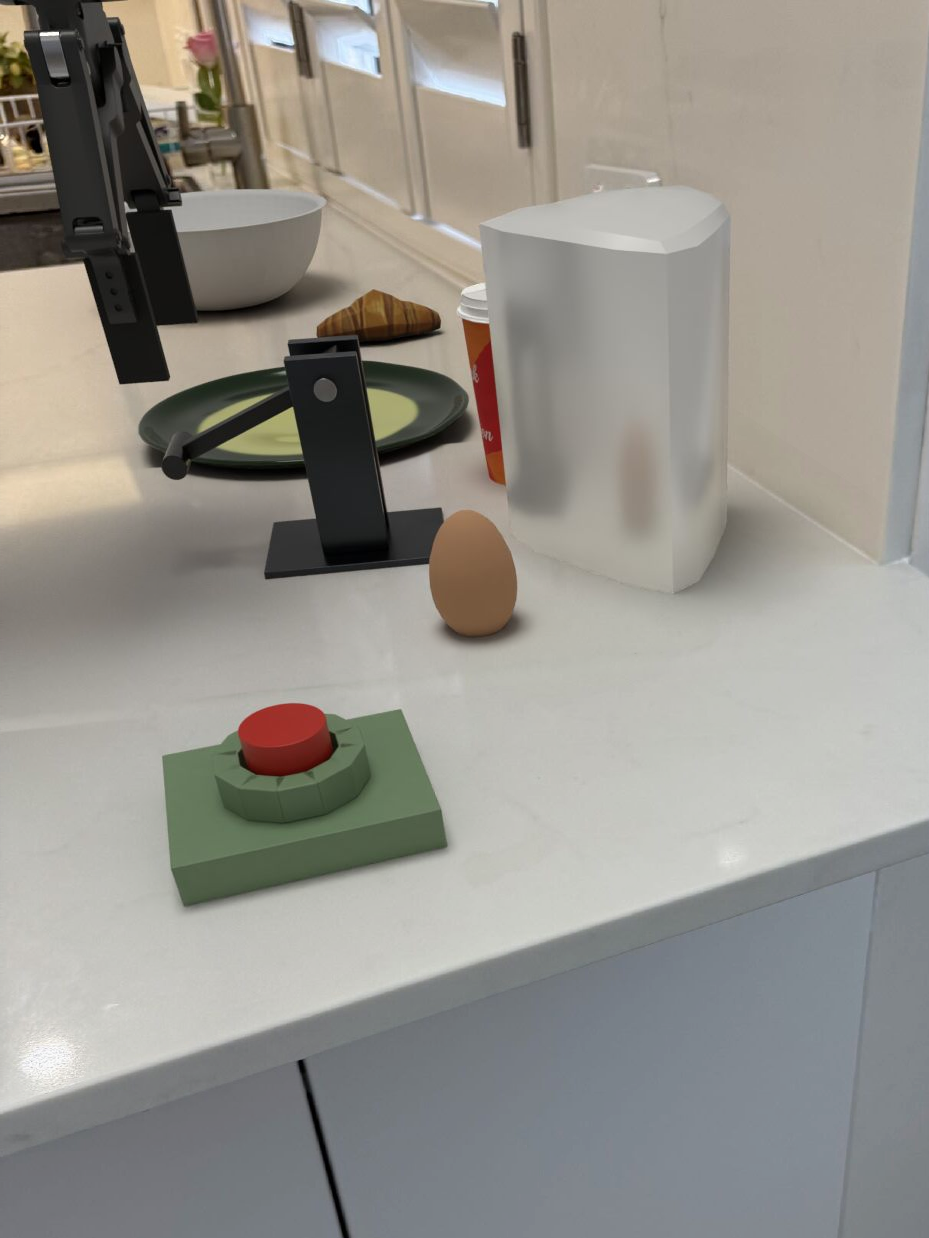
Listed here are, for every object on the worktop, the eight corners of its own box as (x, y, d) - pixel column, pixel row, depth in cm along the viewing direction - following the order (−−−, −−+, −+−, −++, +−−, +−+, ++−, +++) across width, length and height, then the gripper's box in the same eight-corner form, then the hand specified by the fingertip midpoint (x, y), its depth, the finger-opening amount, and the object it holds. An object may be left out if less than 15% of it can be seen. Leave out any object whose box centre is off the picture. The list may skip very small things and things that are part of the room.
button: (250, 787, 55) (241, 754, 54) (242, 744, 58) (233, 712, 57) (338, 768, 56) (331, 736, 55) (326, 727, 59) (319, 696, 58)
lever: (175, 490, 77) (151, 456, 76) (186, 464, 81) (162, 431, 79) (355, 395, 76) (334, 359, 74) (357, 373, 79) (336, 338, 78)
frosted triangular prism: (503, 550, 84) (464, 193, 71) (640, 492, 93) (629, 162, 79) (664, 610, 76) (655, 220, 63) (798, 541, 85) (816, 182, 71)
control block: (183, 907, 54) (158, 835, 51) (173, 791, 61) (151, 723, 59) (447, 847, 57) (435, 776, 54) (407, 744, 64) (395, 677, 62)
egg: (503, 611, 77) (489, 488, 72) (536, 643, 73) (523, 516, 68) (426, 630, 75) (406, 505, 70) (456, 664, 71) (437, 535, 66)
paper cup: (510, 461, 99) (491, 274, 90) (592, 473, 96) (581, 282, 87) (457, 493, 93) (431, 297, 85) (542, 507, 91) (525, 306, 82)
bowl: (95, 340, 133) (65, 239, 127) (122, 286, 154) (97, 197, 148) (346, 320, 137) (329, 221, 131) (339, 270, 158) (324, 183, 152)
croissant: (434, 324, 135) (428, 275, 132) (449, 339, 130) (443, 288, 127) (313, 339, 131) (303, 289, 128) (323, 354, 126) (314, 302, 123)
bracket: (268, 591, 80) (215, 373, 72) (277, 539, 87) (230, 335, 79) (449, 573, 82) (419, 359, 73) (444, 523, 89) (416, 322, 80)
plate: (213, 387, 117) (206, 360, 116) (496, 385, 116) (493, 358, 114) (89, 492, 96) (79, 460, 94) (436, 491, 94) (432, 459, 92)
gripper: (71, -104, 52) (201, 404, 65) (156, -91, 71) (243, 299, 84) (-115, -99, 51) (55, 416, 64) (23, -87, 70) (131, 306, 83)
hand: (162, 350), depth 74 cm, fingers open, 13 cm apart
